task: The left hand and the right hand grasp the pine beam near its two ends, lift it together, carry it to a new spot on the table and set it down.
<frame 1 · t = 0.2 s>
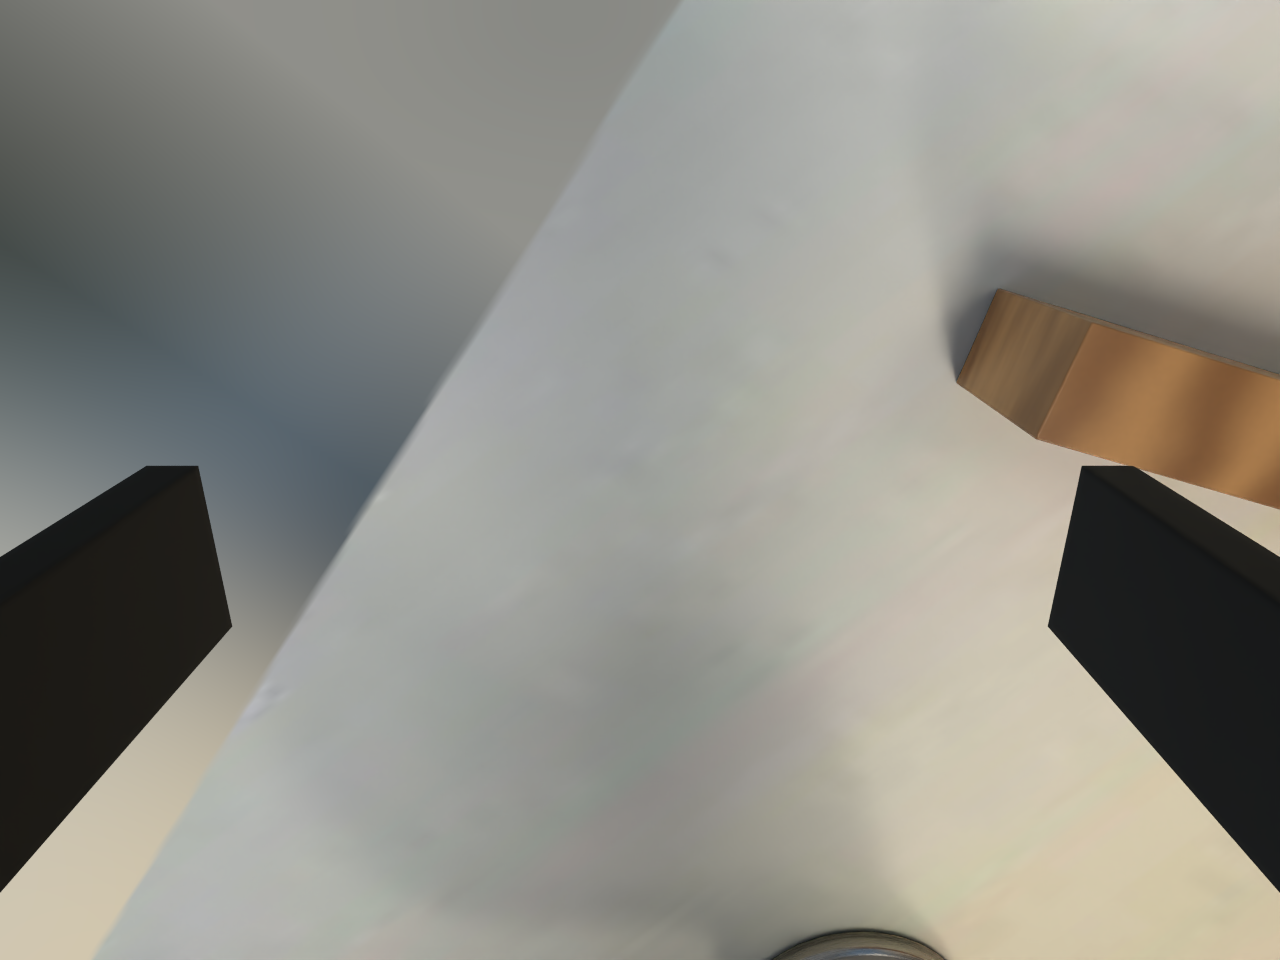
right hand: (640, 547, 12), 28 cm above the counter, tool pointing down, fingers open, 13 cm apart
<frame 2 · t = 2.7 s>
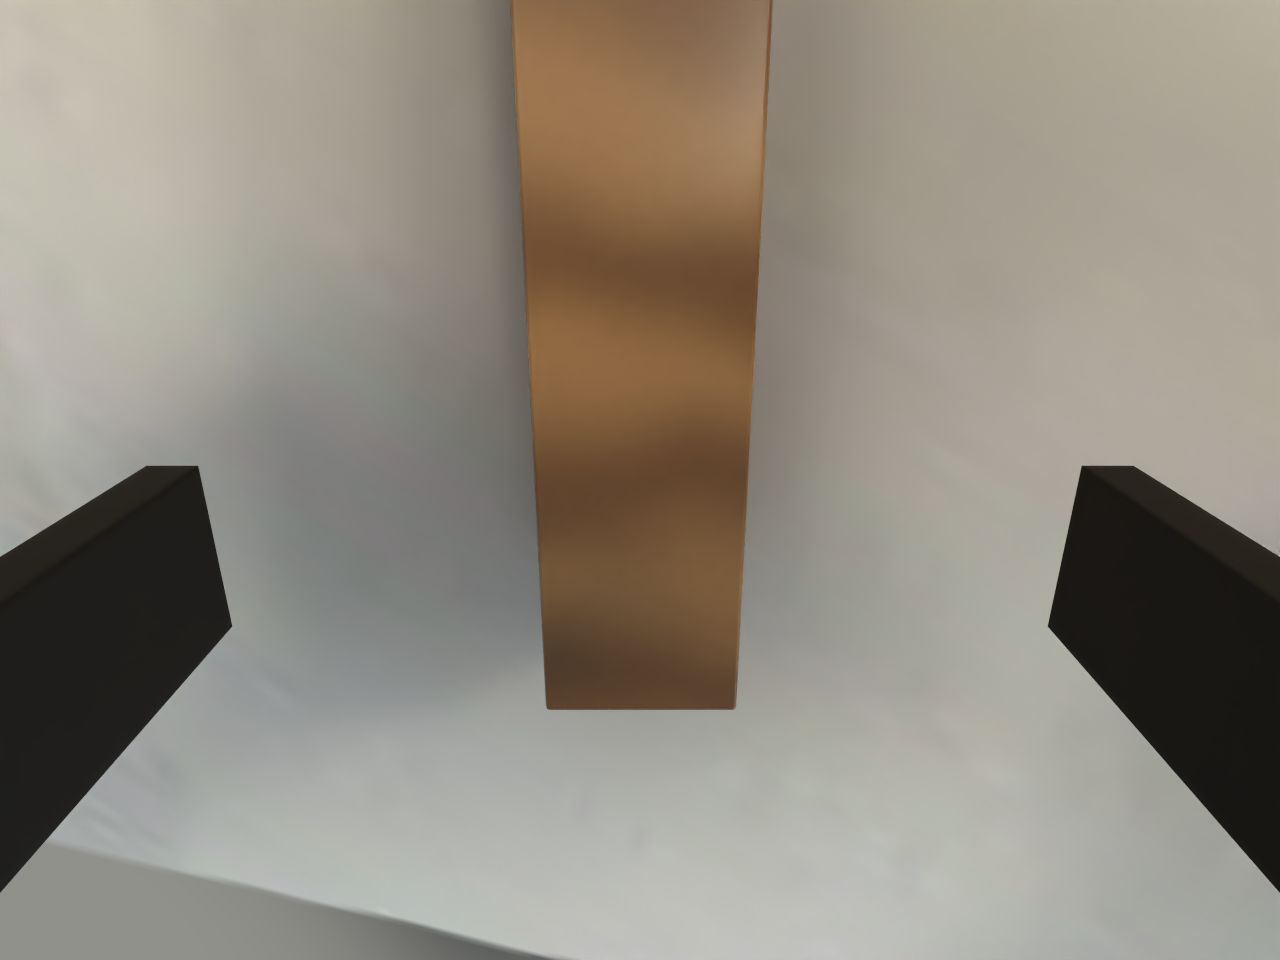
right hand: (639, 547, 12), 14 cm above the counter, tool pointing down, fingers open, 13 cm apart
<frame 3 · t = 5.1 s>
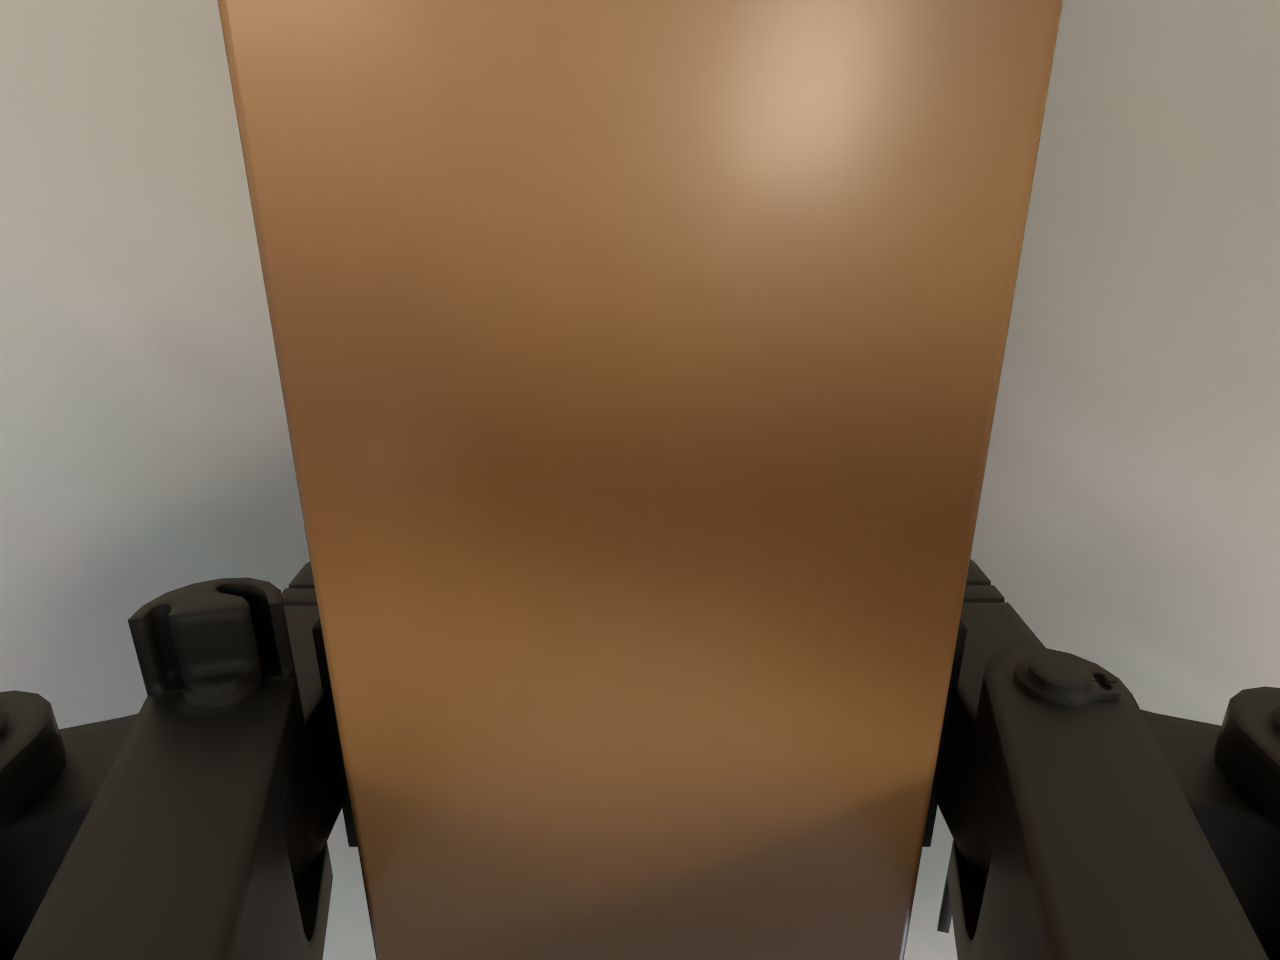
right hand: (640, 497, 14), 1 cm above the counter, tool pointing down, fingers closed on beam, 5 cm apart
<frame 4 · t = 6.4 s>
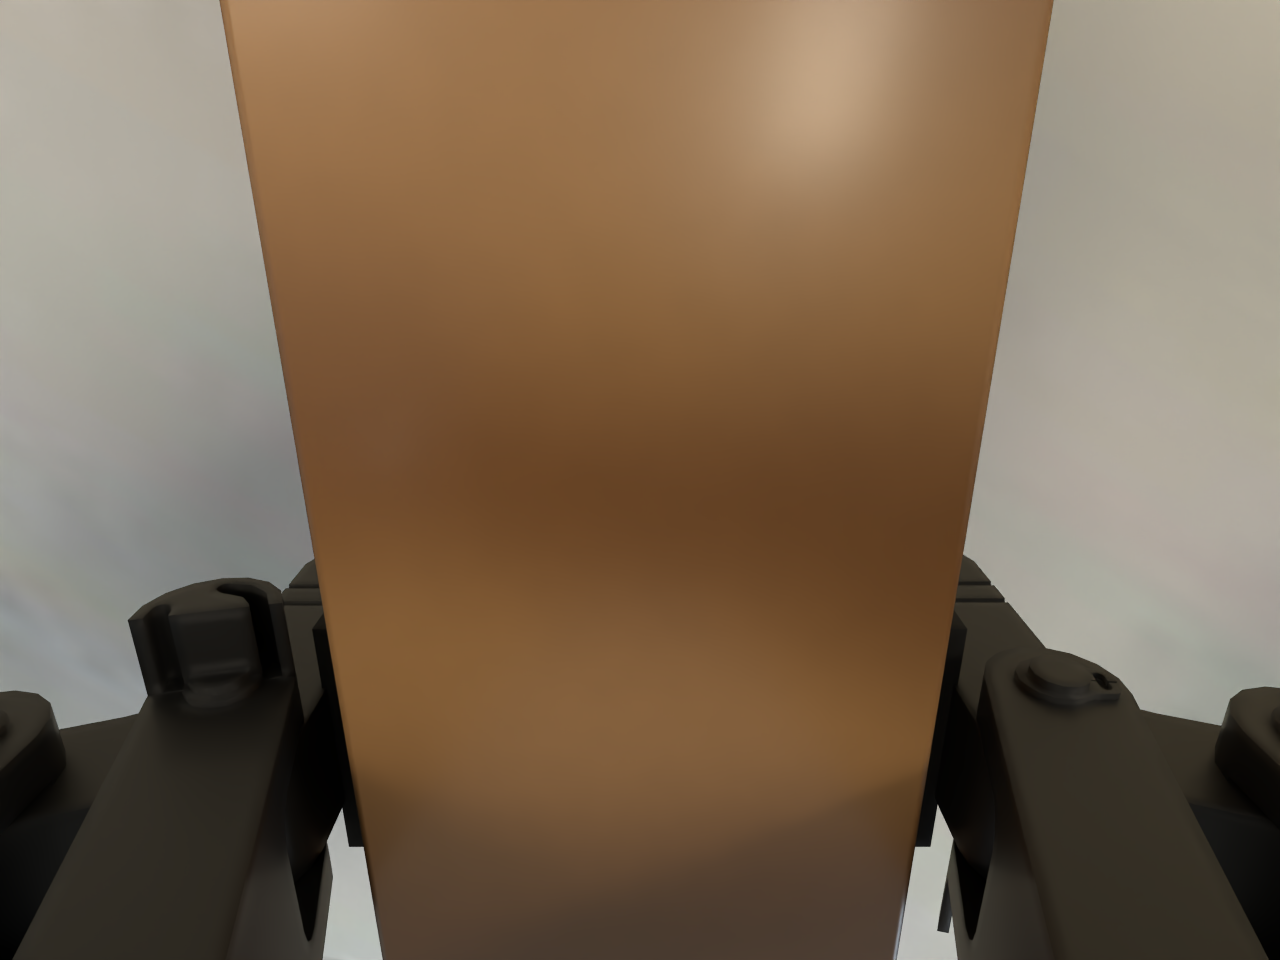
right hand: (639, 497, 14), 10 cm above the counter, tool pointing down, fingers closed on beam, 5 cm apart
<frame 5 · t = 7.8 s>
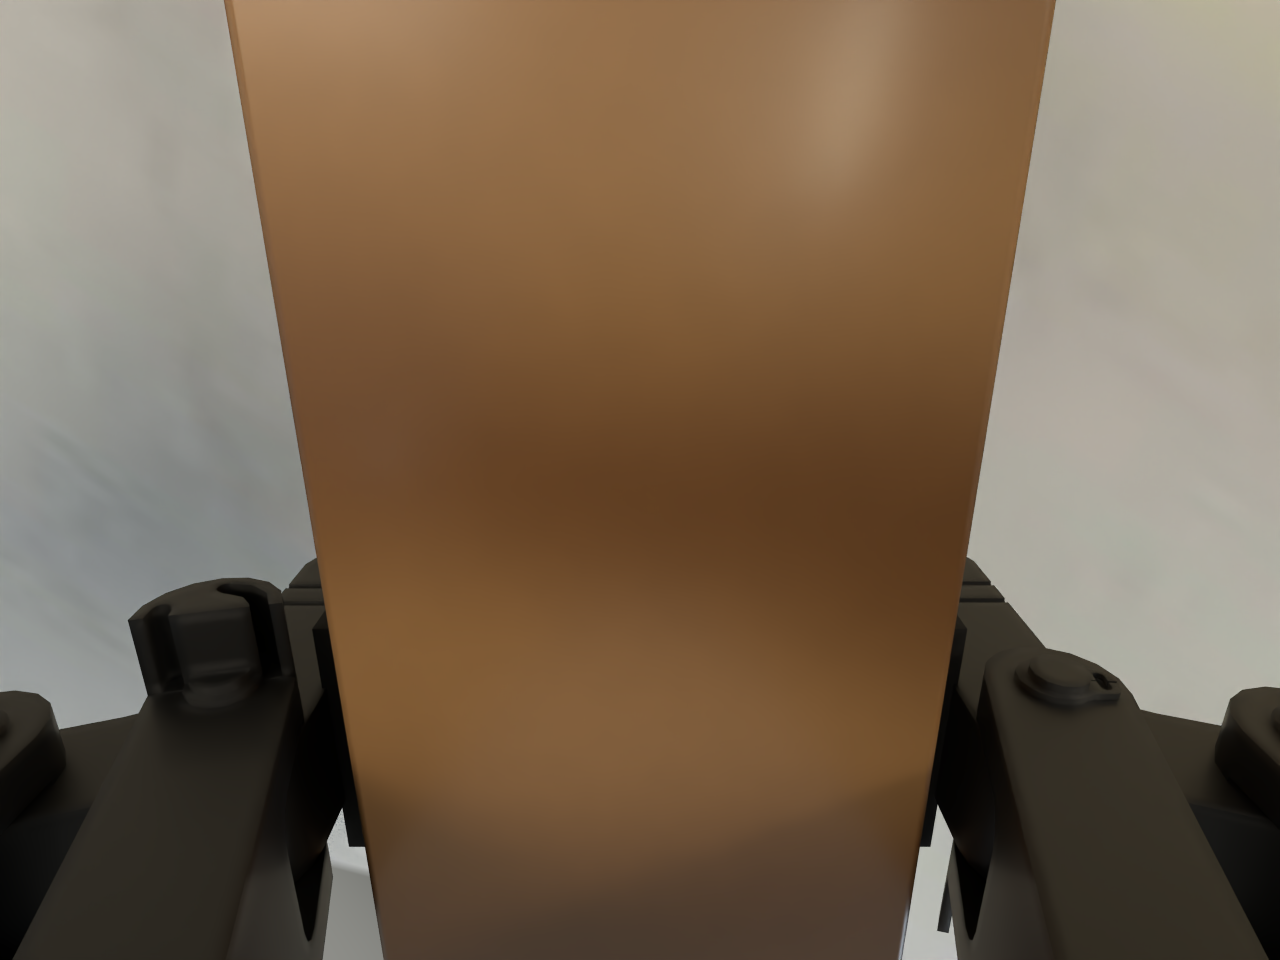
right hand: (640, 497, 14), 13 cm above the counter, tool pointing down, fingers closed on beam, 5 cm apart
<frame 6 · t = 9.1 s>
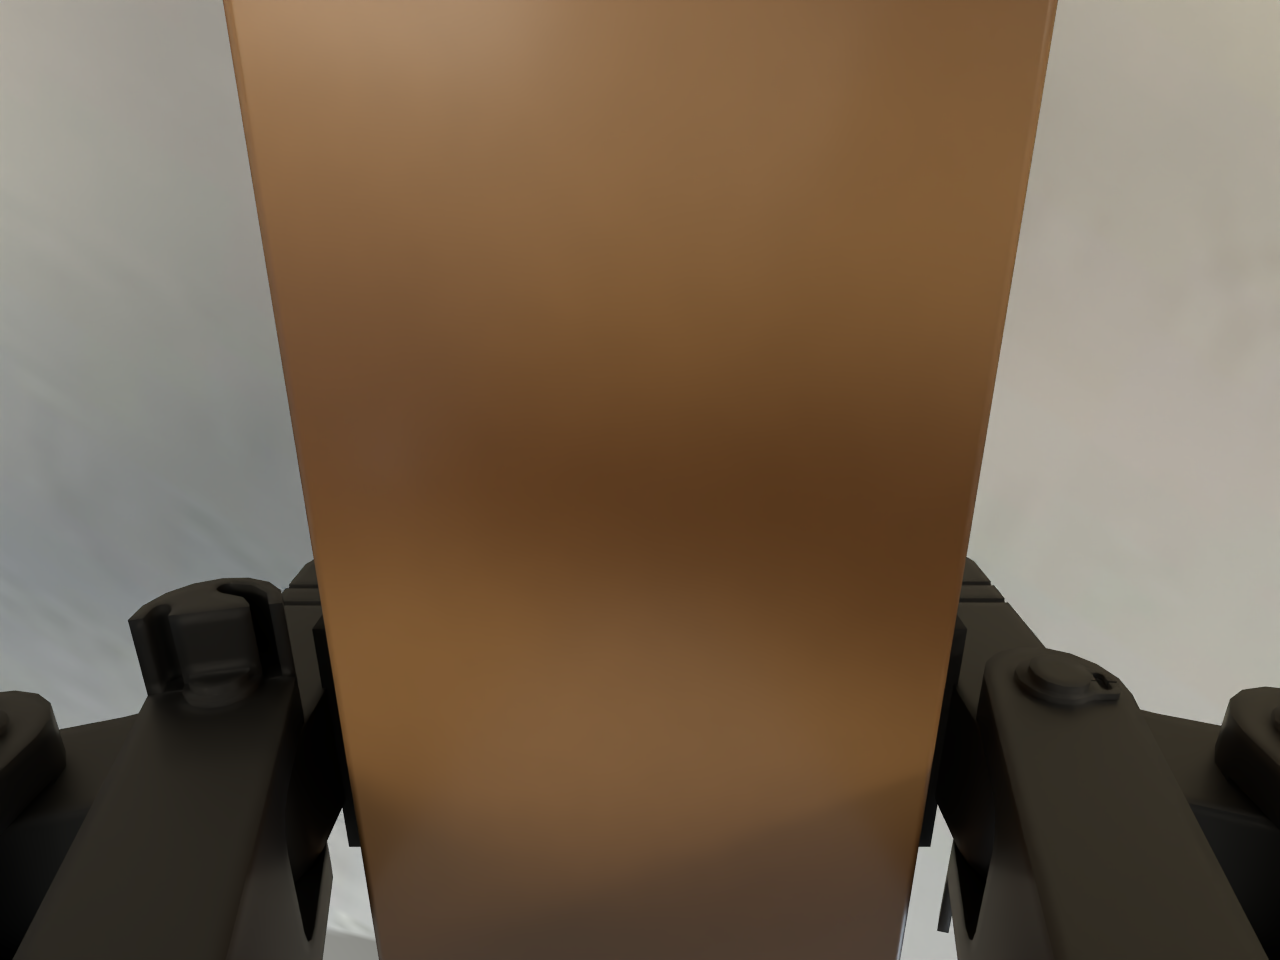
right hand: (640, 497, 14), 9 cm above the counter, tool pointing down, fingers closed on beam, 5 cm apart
when the right hand's fingers open (2 cm above the counter, at t = 10.3 s): beam stays where it is, on the counter.
when the left hand's fingers open (5 cm above the counter, at t = 10.4 s): beam stays where it is, on the counter.
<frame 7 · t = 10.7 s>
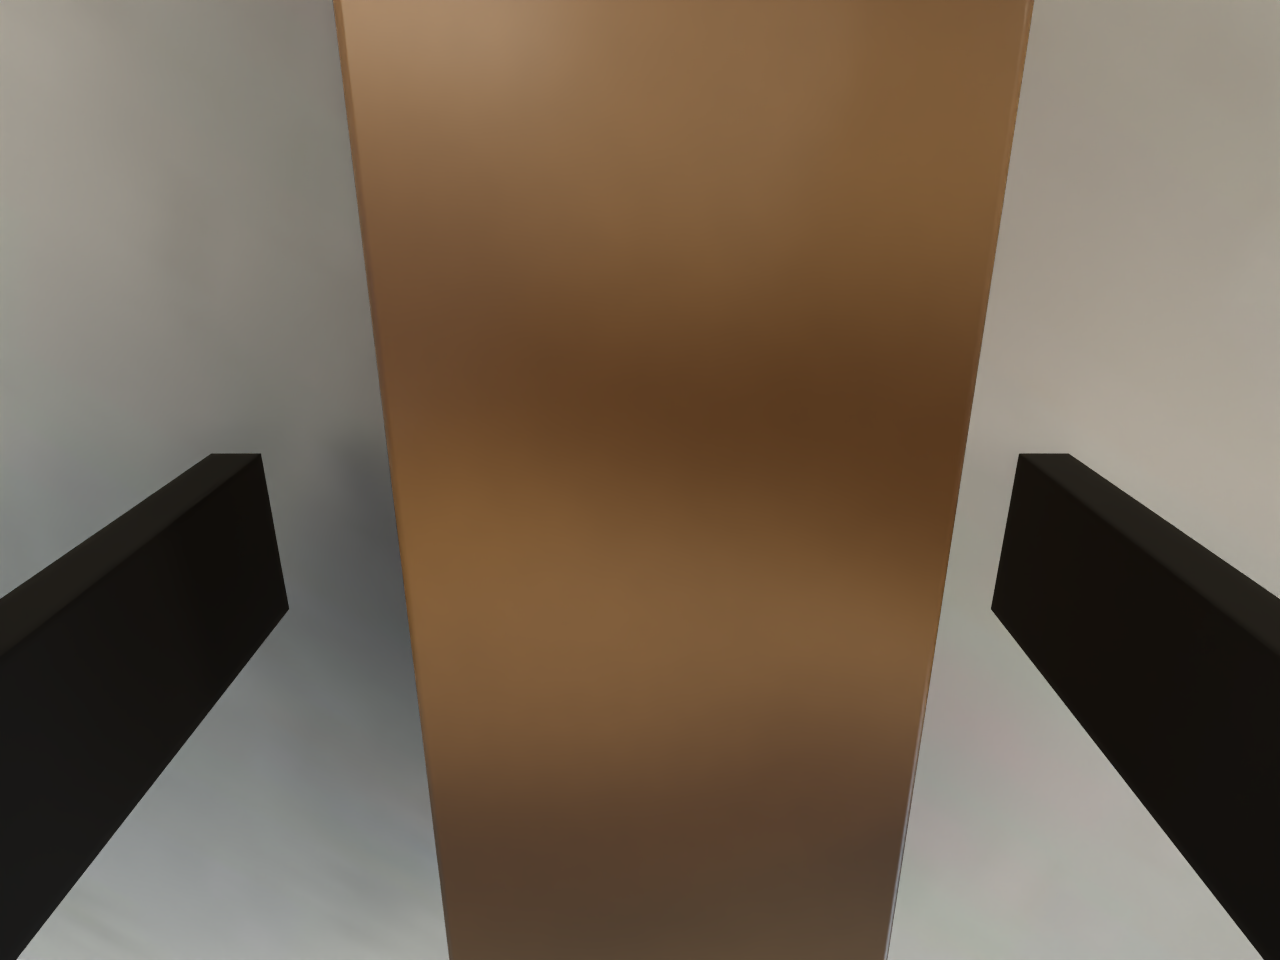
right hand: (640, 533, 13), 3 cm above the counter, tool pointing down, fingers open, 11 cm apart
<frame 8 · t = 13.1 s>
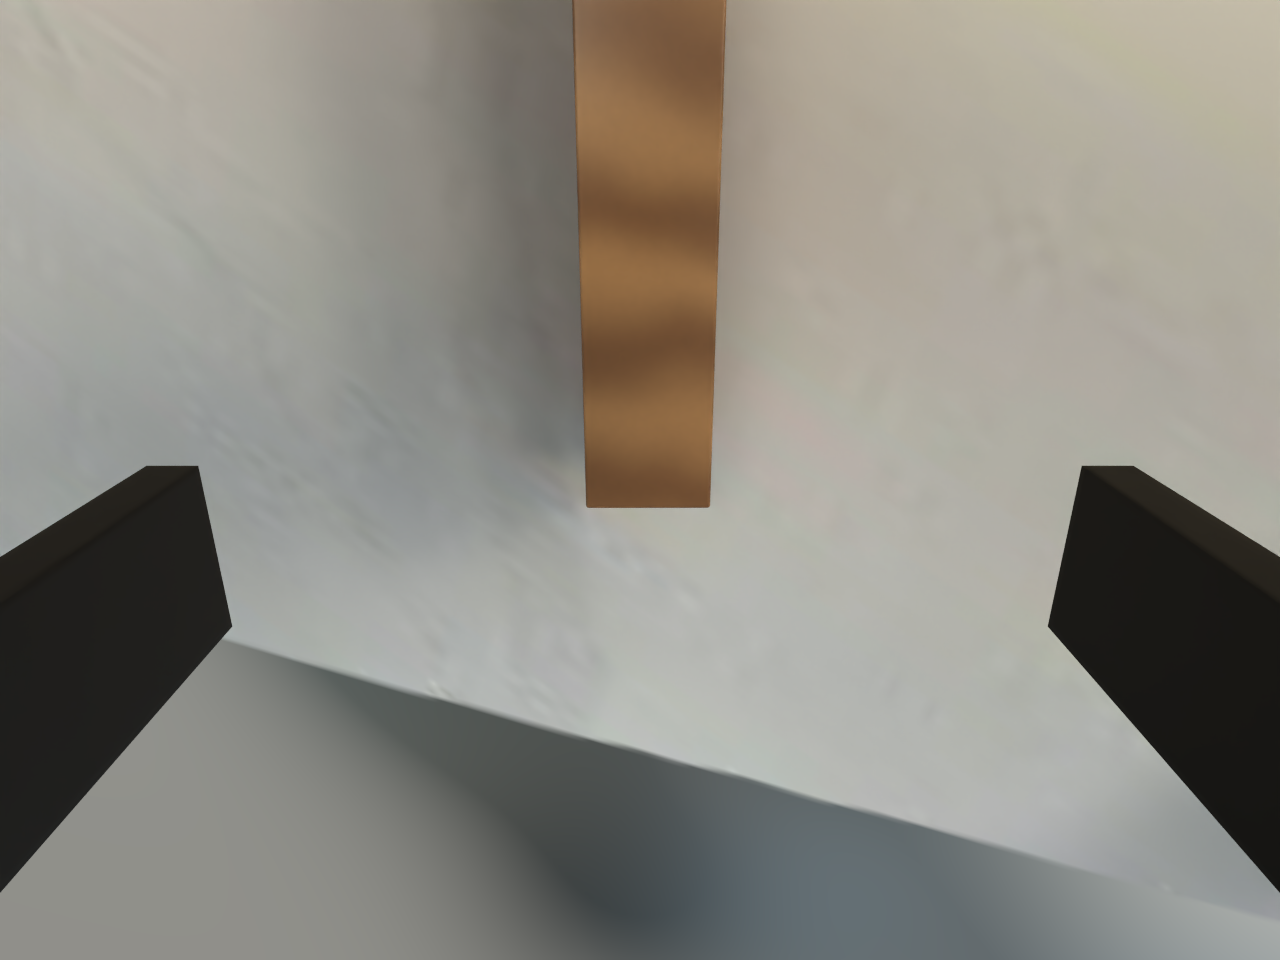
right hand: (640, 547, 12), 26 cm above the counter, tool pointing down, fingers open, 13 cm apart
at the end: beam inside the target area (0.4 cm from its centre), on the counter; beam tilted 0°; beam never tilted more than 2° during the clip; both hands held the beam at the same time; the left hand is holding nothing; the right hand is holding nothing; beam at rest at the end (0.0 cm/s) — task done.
